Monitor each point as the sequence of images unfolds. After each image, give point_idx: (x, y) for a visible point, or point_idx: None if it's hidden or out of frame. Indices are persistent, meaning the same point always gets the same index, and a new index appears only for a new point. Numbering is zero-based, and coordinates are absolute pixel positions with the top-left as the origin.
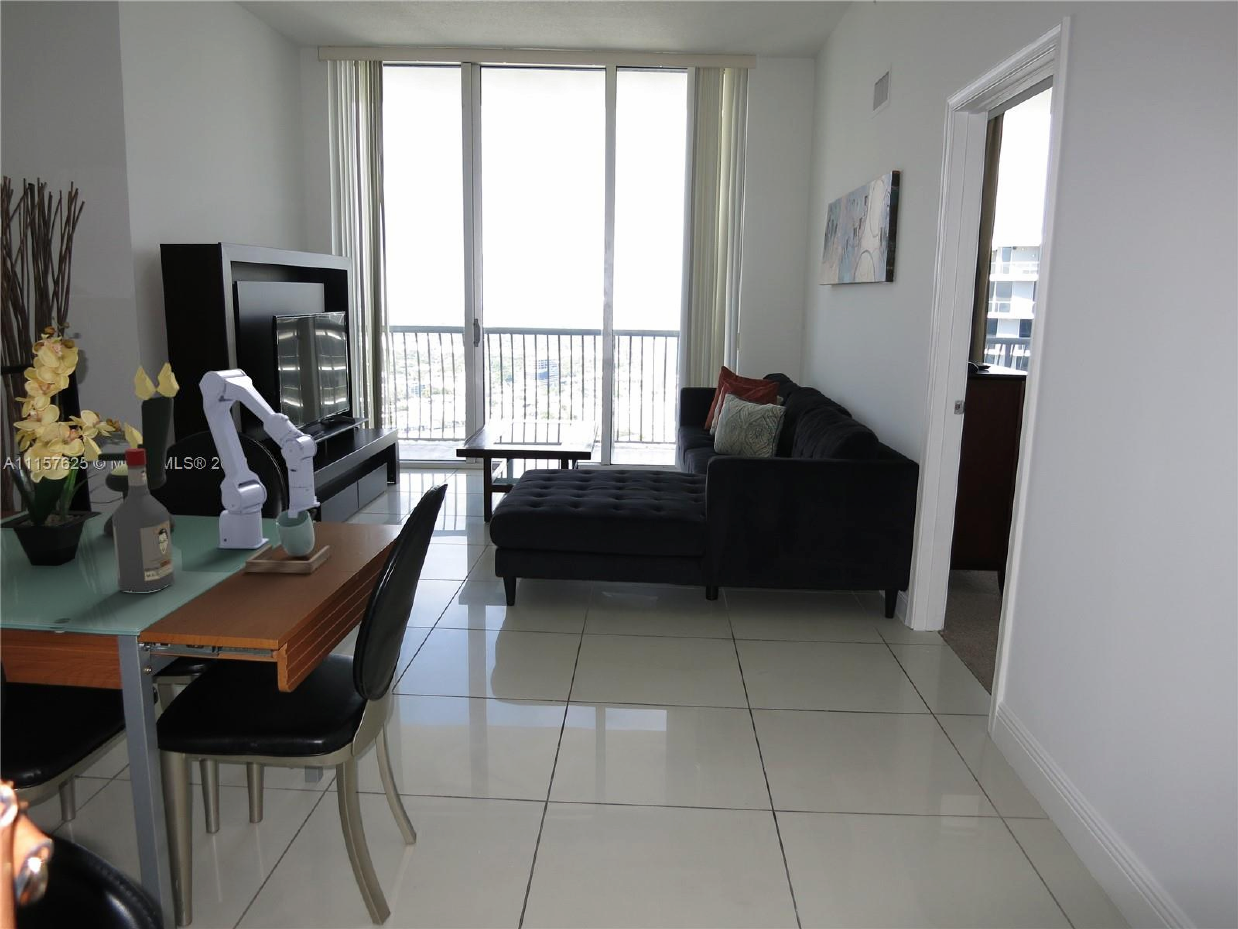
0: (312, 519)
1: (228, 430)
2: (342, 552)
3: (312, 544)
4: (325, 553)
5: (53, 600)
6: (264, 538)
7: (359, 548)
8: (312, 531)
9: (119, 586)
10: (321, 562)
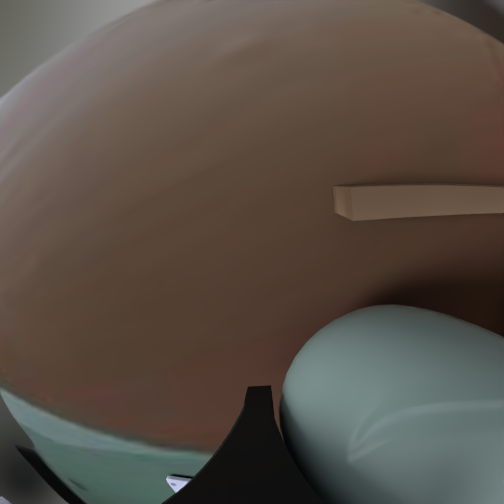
0: (224, 498)
1: None
2: (244, 142)
3: (401, 308)
4: (432, 184)
5: None
6: (170, 484)
7: (149, 88)
8: (474, 353)
9: None
10: (469, 184)
